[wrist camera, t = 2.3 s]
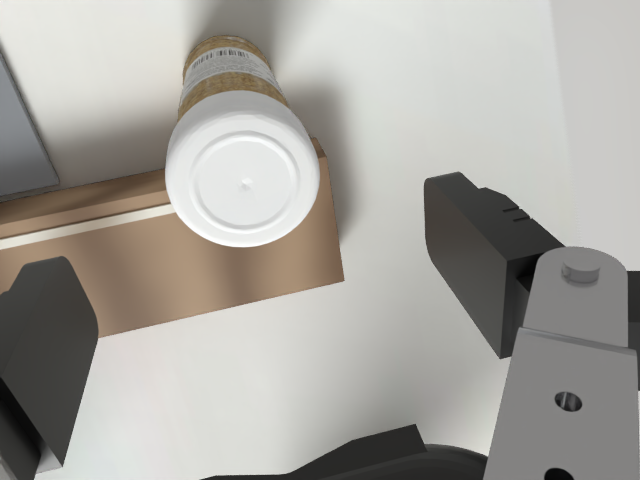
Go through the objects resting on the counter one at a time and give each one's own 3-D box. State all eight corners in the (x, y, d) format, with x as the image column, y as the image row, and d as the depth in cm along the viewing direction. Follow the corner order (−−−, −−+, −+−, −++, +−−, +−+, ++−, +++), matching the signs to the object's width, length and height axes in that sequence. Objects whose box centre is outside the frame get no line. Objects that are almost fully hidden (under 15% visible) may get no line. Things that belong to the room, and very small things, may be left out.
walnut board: (315, 137, 28) (327, 157, 26) (333, 254, 33) (344, 282, 30) (-132, 229, 26) (-170, 261, 24) (-51, 342, 30) (-76, 379, 28)
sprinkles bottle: (183, 120, 26) (164, 252, 15) (182, 27, 24) (160, 100, 13) (270, 125, 28) (313, 253, 16) (277, 37, 25) (332, 113, 14)
